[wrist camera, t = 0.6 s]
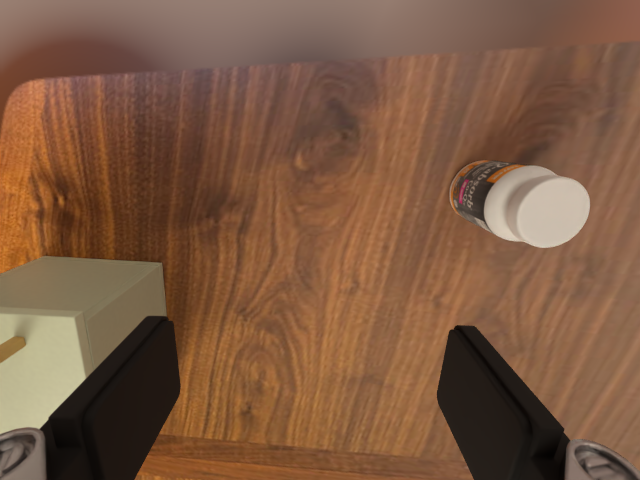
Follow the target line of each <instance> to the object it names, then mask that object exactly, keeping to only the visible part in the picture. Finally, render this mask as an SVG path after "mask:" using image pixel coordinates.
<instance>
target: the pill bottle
mask: <svg viewBox="0 0 640 480" xmlns="http://www.w3.org/2000/svg"><path fill="white" fill-rule="evenodd" d="M449 197H450V202H451V205H452V207H453V209H454V210H455V212H456V213H457V214H458V215H460V216H461V217H463V218H464V219H466V220H468V221H470V222H472V223H474V224H476V225H478V226H480V227H482V228H484V229H486V230H487V231H489V232H491V233H493V234H495V235H497V236H498V237H500V238H503V239H506V240H510V241H523V242H526V243H528V244H530V245H533V246H536V247H543V248H547V247H554V246H558V245H561V244H563V243H565V242H567V241H568V240H570V239H571V238H572V237H574V236H575V235H576V234H577V233H578V232H579V231H580V230H581V228H582V227H583V225H584V224H585V222H586V220H587V218H588V215H589V210H590V200H589V195H588V193H587V191H586V189H585V188H584V187H583V186H582V185H581V184H580V183H579V182H577V181H575V180H573V179H570V178H567V177H562V176H557V175H556V174H555V173H553V172H552V171H550V170H548V169H546V168H544V167H540V166H534V165H525V164H516V163H508V162H500V161H491V160H481V161H476V162H473V163H471V164H468V165H467V166H465V167H464V168H462V169H461V170H460V171H459V172H458V173H457V175H456V176H455V178H454V179H453V181H452V184H451V186H450V193H449Z"/></svg>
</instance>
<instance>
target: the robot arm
mask: <svg viewBox="0 0 640 480" xmlns="http://www.w3.org/2000/svg"><path fill="white" fill-rule="evenodd" d="M179 394H180V377H179V368H178V359H177V350H176V341H175V332H174V324H173V322H172V321H169V320H168V318H167V317H166V316H147V317H145V318H144V319H143V320H142V321H141V322H140V323H139V325H138V326H137V327H136V328H135V329H134V330H133V331H132V332H131V333H130V334H129V335H128V336H127V337H126V338H125V339H124V340H123V341H122V342H121V343H120V344H119V345H118V346H117V347H116V348H115V349H114V350H113V351H112V352H111V353H110V354H109V355H108V356H107V357H106V359H105V360H104V361H103V362H102V363H101V364H100V365H99V366H98V367H97V368H96V369H95V370H94V371H93V372H92V373H91V374H90V375H89V376H88V377H87V378H86V379H85V380H84V381H83V382H82V383H81V384H80V385H79V386H78V387H77V388H76V389H75V390H74V391H73V393H72V394H71V395H70V396H69V397H68V398H67V399H66V400H65V401H64V402H63V403H62V404H61V405H60V406H59V407H58V408H57V409H56V410H55V411H54V412H53V413H52V414H51V415H50V416H49V417H48V419H49V420H48V421H47V422H46V423H45V424H44V425H43V426H42V427H41V428H40V429H38V428H32V427H25V428H18V429H14V430H11V431H8V432H5V433H2V434H0V480H134V479H135V477H136V475H137V473H138V471H139V470H140V468H141V466H142V464H143V462H144V460H145V458H146V457H147V455H148V453H149V451H150V449H151V447H152V445H153V444H154V442H155V440H156V438H157V436H158V434H159V432H160V431H161V429H162V427H163V425H164V423H165V421H166V419H167V417H168V416H169V414H170V412H171V410H172V408H173V406H174V404H175V403H176V401H177V399H178V397H179ZM437 400H438V404H439V406H440V408H441V410H442V412H443V415H444V417H445V419H446V421H447V423H448V425H449V427H450V429H451V432H452V434H453V436H454V438H455V440H456V442H457V444H458V446H459V448H460V451H461V453H462V455H463V457H464V459H465V461H466V463H467V465H468V468H469V470H470V472H471V474H472V476H473V478H474V480H640V471H639V470H638V469H637V468H636V467H634V466H633V465H632V464H631V463H630V462H629V461H628V460H626V459H625V458H624V457H622V456H621V455H620V454H618V453H617V452H615V451H613V450H611V449H609V448H608V447H606V446H604V445H601V444H599V443H596V442H594V441H590V440H585V439H574V440H572V441H570V440H569V438H568V437H567V436H566V435H565V434H564V428H563V427H562V426H561V425H560V423H559V422H558V421H557V420H556V419H555V418H554V416H553V415H552V414H551V413H550V412H549V411H548V410H547V408H546V407H545V406H544V405H543V404H542V403H541V402H540V400H539V399H538V398H537V397H536V396H535V395H534V393H533V392H532V391H531V390H530V389H529V388H528V387H527V385H526V384H525V383H524V382H523V381H522V380H521V379H520V377H519V376H518V375H517V374H516V373H515V372H514V370H513V369H512V368H511V367H510V366H509V365H508V364H507V362H506V361H505V360H504V359H503V358H502V357H501V356H500V354H499V353H498V352H497V351H496V350H495V349H494V347H493V346H492V345H491V344H490V343H489V342H488V341H487V339H486V338H485V337H484V336H483V335H482V334H481V333H480V331H479V330H478V329H477V328H476V327H475V326H461V325H457V326H455V328H454V330H450V331H449V335H448V340H447V345H446V350H445V355H444V360H443V365H442V370H441V375H440V380H439V385H438V390H437Z"/></svg>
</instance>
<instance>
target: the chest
mask: <svg viewBox="0 0 640 480" xmlns="http://www.w3.org/2000/svg"><path fill="white" fill-rule="evenodd" d="M0 307H13V308H32V309H50V310H69V311H82V312H83V316H84V321H85V327H86V332H87V338H88V343H89V349H90V355H91V360H92V366H93V371H94V370H95V369H96V368H97V367H98V366H99V365H100V364H101V363H102V362H103V361H104V360H105V359H106V357H107V356H108V355H109V354H110V353H111V352H112V351H113V350H114V349H115V348H116V347H117V346H118V345H119V344H120V343H121V342H122V341H123V340H124V339H125V338H126V337H127V336H128V335H129V334H130V333H131V332H132V331H133V330H134V329H135V328H136V327H137V326H138V325H139V323H140V322H141V321H142V320H143V319H144V318H145V317H147V316H166V317H167V311H166V300H165V289H164V277H163V266H162V263H158V262H141V261H124V260H107V259H90V258H73V257H56V256H43V257H41V258H39V259H36V260H33V261H31V262H28V263H26V264H23V265H21V266H18V267H16V268H14V269H11V270H9V271H6V272H4V273H1V274H0Z"/></svg>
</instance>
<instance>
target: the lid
mask: <svg viewBox="0 0 640 480" xmlns="http://www.w3.org/2000/svg"><path fill="white" fill-rule="evenodd" d="M92 372H93V366H92V360H91V355H90V349H89V343H88V338H87V332H86V327H85V321H84V316H83V312H82V311H69V310H50V309H32V308H13V307H0V434H2V433H5V432H8V431H11V430H14V429H18V428H25V427H32V428H38V429H40V428H41V427H42V426H43V425H44V424H45V423H46V422H47V421H48V420H49V419H48V417H49V416H50V415H51V414H52V413H53V412H54V411H55V410H56V409H57V408H58V407H59V406H60V405H61V404H62V403H63V402H64V401H65V400H66V399H67V398H68V397H69V396H70V395H71V394H72V393H73V391H74V390H75V389H76V388H77V387H78V386H79V385H80V384H81V383H82V382H83V381H84V380H85V379H86V378H87V377H88V376H89V375H90V374H91V373H92Z"/></svg>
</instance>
